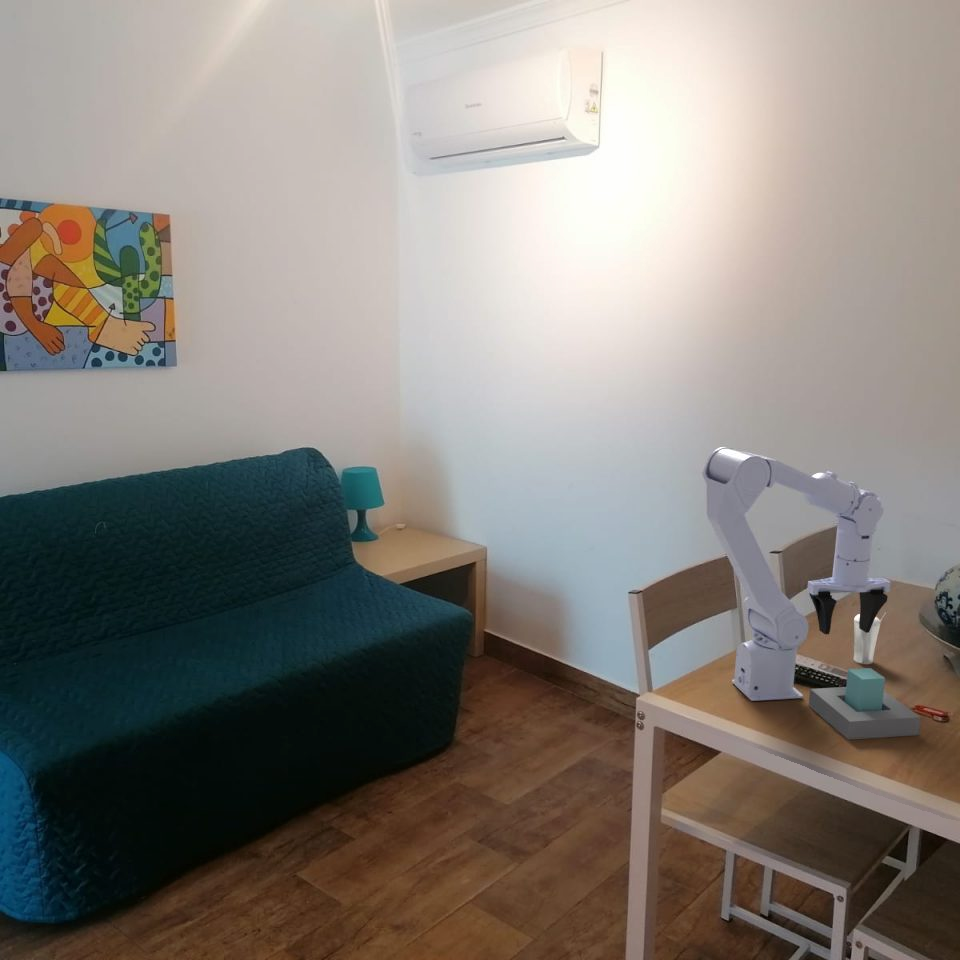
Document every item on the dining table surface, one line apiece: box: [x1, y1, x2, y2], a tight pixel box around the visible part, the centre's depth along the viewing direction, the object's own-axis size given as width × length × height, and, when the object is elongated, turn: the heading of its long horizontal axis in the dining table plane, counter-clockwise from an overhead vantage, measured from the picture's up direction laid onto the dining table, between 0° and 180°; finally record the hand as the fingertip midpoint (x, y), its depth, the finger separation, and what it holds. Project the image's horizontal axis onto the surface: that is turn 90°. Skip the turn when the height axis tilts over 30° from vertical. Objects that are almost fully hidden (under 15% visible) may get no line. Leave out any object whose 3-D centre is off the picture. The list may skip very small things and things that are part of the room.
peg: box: [845, 667, 886, 712], centre depth 149 cm, size 4×4×8 cm
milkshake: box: [853, 611, 887, 665], centre depth 173 cm, size 5×5×10 cm
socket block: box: [808, 686, 921, 740], centre depth 150 cm, size 12×12×3 cm
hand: (844, 631), depth 163 cm, fingers open, 7 cm apart
